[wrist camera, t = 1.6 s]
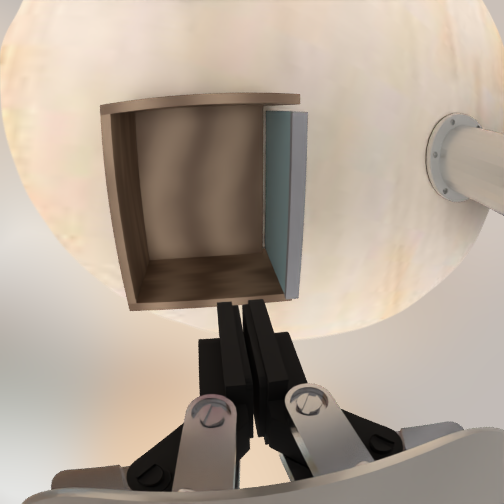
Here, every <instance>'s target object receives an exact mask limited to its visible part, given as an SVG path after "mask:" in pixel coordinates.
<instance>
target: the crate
mask: <svg viewBox="0 0 504 504" xmlns="http://www.w3.org/2000/svg"><path fill="white" fill-rule="evenodd" d="M295 104H300V94H285V93H213V94H193V95H179V96H167V97H157V98H148V99H139V100H131V101H124V102H117V103H111V104H105V105H100V115H101V131H102V145H103V156H104V166H105V175H106V184H107V192H108V199H109V206H110V213H111V220H112V226H113V232H114V238H115V243H116V249H117V254H118V259H119V264H120V269H121V274H122V279H123V283H124V288H125V292H126V297H127V301H128V305H129V309H130V311H141V310H165V309H185V308H202V307H217V302H230V301H232V305H243V304H248V300H255V299H263V300H264V303H269V302H280V301H291V300H292V299H285V296H284V292H283V290H282V288H281V285H280V283H279V280H278V278H277V275H276V273H275V271H274V268H273V266H272V263H271V261H270V259H269V256H268V254H267V251H266V249H265V248H263V249H262V243H263V105H270V106H275V105H295Z"/></svg>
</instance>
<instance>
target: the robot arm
mask: <svg viewBox="0 0 504 504" xmlns="http://www.w3.org/2000/svg"><path fill="white" fill-rule="evenodd" d="M427 171H428V175H429V179H430V181H431V183H432V186H433V188H434V189H435V190H436V192H437V193H438V194H439V195H441V196H442V197H443V198H445V199H447V200H449V201H452V202H462V201H465V200H467V199H469V198H470V199H472V200H474V201H476V202H478V203H480V204H482V205H484V206H486V207H488V208H490V209H492V210H494V211H496V212H498V213H500V214H502V215H503V216H504V134H502V133H498V132H494V131H490V130H485V129H483V128H482V127H481V125H480V124H479V123H478V122H477V121H476V120H475V119H474V118H473V117H471V116H469V115H466V114H461V113H454V114H450V115H448V116H446V117H444V118H443V119H442V120H441V121H440V122H439V123H438V124H437V125H436V127H435V128H434V130H433V132H432V134H431V137H430V140H429V143H428V148H427ZM242 311H243V329H242V324H241V318H240V313H239V308H238V305H232V301H230V302H217V312H218V325H219V337H220V338H214V339H199V342H198V343H199V344H198V347H199V385H200V396H199V397H197V398H196V399H194V400H193V401H192V402H191V403H190V404H189V405H188V407H187V410H186V414H185V419H184V423H183V424H182V425H180V426H179V427H178V428H177V429H176V430H175V431H173V432H172V433H171V434H169V435H168V436H167V437H166V438H164V439H163V440H162V441H161V442H159V443H158V444H157V445H155V446H154V447H153V448H152V449H150V450H149V451H148V452H146V453H145V454H144V455H142V456H141V457H140V458H138V459H137V460H136V461H134V463H132V465H131V466H126V467H121V466H120V465H114V466H106V467H96V468H85V469H73V470H64V471H60V472H59V473H58V474H56V475H55V477H54V478H53V480H52V484H51V490H48V491H44V492H40V493H37V494H35V495H32V496H30V497H28V498H27V499H26V500H25V501H24V502H23V503H22V504H504V430H502V429H499V428H494V427H483V428H482V427H480V428H472V429H466V430H464V429H463V427H461V426H460V425H459V424H457V423H454V422H442V423H436V424H430V425H423V426H416V427H408V428H401V430H400V431H396V432H395V431H394V430H392V429H390V428H387V427H385V426H382V425H380V424H377V423H374V422H372V421H369V420H367V419H364V418H362V417H359V416H357V415H354V414H352V413H349V412H347V411H345V410H343V409H340V407H339V405H338V404H337V402H336V401H335V399H334V398H333V396H332V395H331V393H330V392H329V391H328V390H327V389H325V388H324V387H322V386H320V385H317V384H310V383H307V380H306V378H305V375H304V372H303V370H302V367H301V364H300V361H299V359H298V356H297V354H296V351H295V348H294V345H293V343H292V340H291V337H290V335H289V333H288V332H280V333H274V331H273V328H272V325H271V322H270V318H269V315H268V312H267V309H266V306H265V303H264V300H263V299H255V300H248V304H243V305H242ZM253 414H254V419H255V424H256V429H257V434H258V437H264V440H265V444H266V445H267V444H269V447H271V448H273V449H274V450H276V451H278V452H279V456H280V459H281V461H282V463H283V466H284V468H285V470H286V472H287V475H288V477H289V479H290V481H291V482H288V483H281V484H275V485H269V486H260V487H252V488H243V489H239V485H240V459H241V458H242V457H243V456H244V455H245V454H246V453H247V452H248V451H249V449H250V438H253Z"/></svg>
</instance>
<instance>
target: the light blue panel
mask: <svg viewBox="0 0 504 504" xmlns="http://www.w3.org/2000/svg"><path fill="white" fill-rule="evenodd" d="M307 125H308V112H291V111H266V212H265V249H266V251H267V254H268V256H269V259H270V261H271V263H272V266H273V268H274V271H275V273H276V275H277V278H278V280H279V283H280V285H281V288H282V290H283V292H284V296H285V299H296V298H298V296H299V284H300V271H301V257H302V242H303V226H304V207H305V186H306V161H307Z"/></svg>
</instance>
